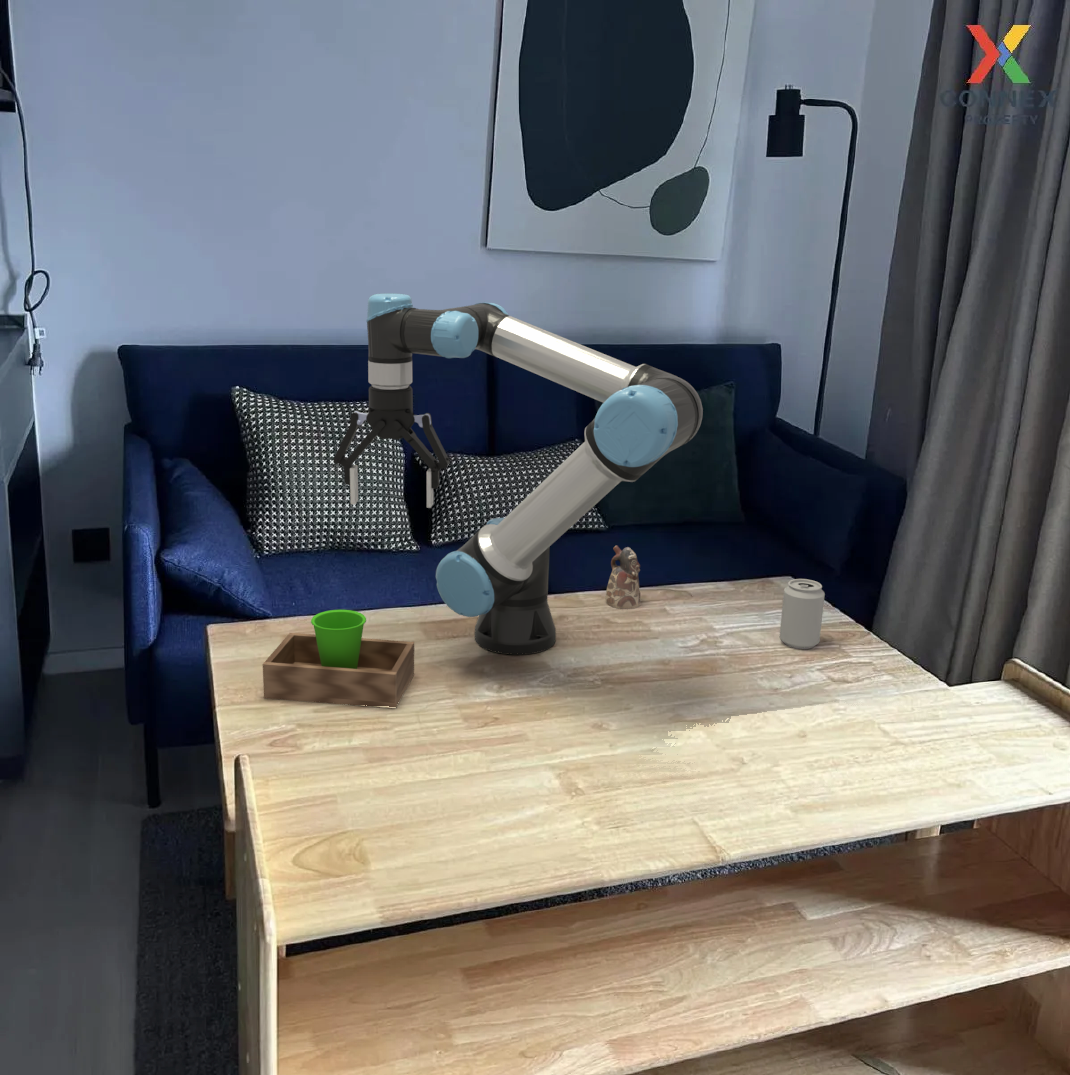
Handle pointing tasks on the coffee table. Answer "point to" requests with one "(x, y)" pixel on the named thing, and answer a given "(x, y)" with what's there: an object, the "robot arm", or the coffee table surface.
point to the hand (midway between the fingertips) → (392, 504)
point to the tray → (339, 673)
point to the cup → (339, 637)
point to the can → (802, 613)
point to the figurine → (624, 580)
